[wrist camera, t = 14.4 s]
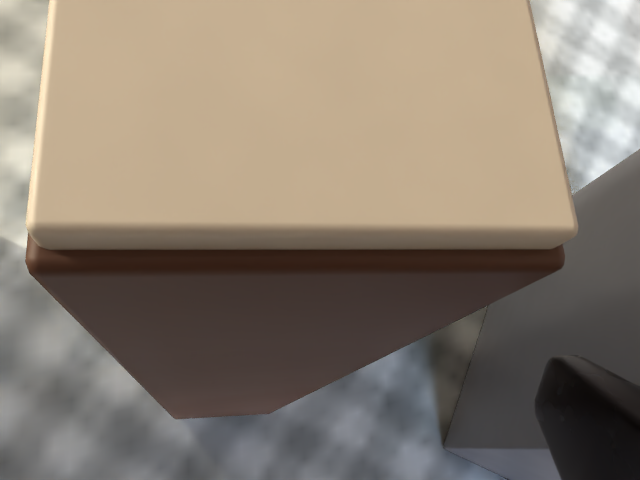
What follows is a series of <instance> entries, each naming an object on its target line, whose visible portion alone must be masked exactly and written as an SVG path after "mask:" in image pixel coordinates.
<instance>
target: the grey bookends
mask: <svg viewBox="0 0 640 480" xmlns="http://www.w3.org/2000/svg"><path fill="white" fill-rule="evenodd" d="M572 199H573V203H574V208H575V213H576V217H577V222H578V233H577V234H576V236H575V237H573V238H571V239H570V240H568V241H566V242H564V243H563V248H564V253H565V261H564V266H563V267H562V269H560V270H558V271H556V272H554V273H552V274H550V275H548V276H546V277H544V278H542V279H540V280H538V281H536V282H534V283H532V284H530V285H528V286H526V287H524V288H522V289H520V290H518V291H516V292H514V293H512V294H510V295H508V296H506V297H504V298H502V299H500V300H498V301H495V302H493V303H491V304H489V306H488V309H487V313H486V316H485V319H484V322H483V325H482V328H481V331H480V334H479V337H478V341H477V344H476V347H475V350H474V353H473V356H472V359H471V362H470V365H469V369H468V372H467V375H466V378H465V381H464V384H463V387H462V390H461V393H460V397H459V400H458V403H457V406H456V409H455V412H454V415H453V418H452V421H451V425H450V428H449V431H448V434H447V437H446V440H445V443H444V447H443V448H444V449H445V450H447V451H450V452H452V453H454V454H456V455H458V456H460V457H462V458H464V459H466V460H469V461H471V462H473V463H475V464H477V465H479V466H481V467H483V468H485V469H488V470H490V471H492V472H494V473H496V474H498V475H500V476H502V477H504V478H507V479H509V480H561V478H560V476H559V473H558V471H557V468H556V466H555V463H554V461H553V459H552V456H551V454H550V451H549V449H548V446H547V444H546V441H545V439H544V436H543V434H542V432H541V429H540V427H539V424H538V422H537V419H536V416H535V412H534V400H535V396H536V393H537V390H538V387H539V384H540V381H541V377H542V374H543V371H544V368H545V365H546V363H547V361H548V360H549V359H550V358H551V357H553V356H559V355H579V356H582V357H584V358H586V359H588V360H590V361H592V362H594V363H596V364H597V365H599V366H601V367H603V368H605V369H607V370H609V371H611V372H613V373H615V374H616V375H618V376H620V377H622V378H624V379H626V380H628V381H630V382H632V383H634V384H635V385H637V386H639V387H640V149H639V150H638V151H636V152H635V153H633V154H632V155H630V156H629V157H628V158H626V159H625V160H623V161H622V162H620V163H619V164H617V165H616V166H614V167H613V168H611V169H610V170H608V171H607V172H606V173H604V174H603V175H601V176H600V177H598V178H597V179H595V180H594V181H592V182H591V183H589V184H588V185H586V186H585V187H584V188H582V189H581V190H579V191H578V192H576V193H575V194H573V195H572Z"/></svg>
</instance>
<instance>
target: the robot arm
mask: <svg viewBox="0 0 640 480" xmlns="http://www.w3.org/2000/svg"><path fill="white" fill-rule="evenodd" d="M534 412H535V416H536V419H537V422H538V424H539V427H540V429H541V432H542V434H543V436H544V439H545V441H546V444H547V446H548V449H549V451H550V454H551V456H552V459H553V461H554V463H555V466H556V468H557V471H558V473H559V476H560V478H561V480H640V387H639V386H637V385H635V384H634V383H632V382H630V381H628V380H626V379H624V378H622V377H620V376H618V375H616V374H615V373H613V372H611V371H609V370H607V369H605V368H603V367H601V366H599V365H597V364H596V363H594V362H592V361H590V360H588V359H586V358H584V357H582V356H579V355H559V356H553V357H551V358H550V359H549V360H548V361H547V363H546V365H545V368H544V371H543V374H542V377H541V381H540V384H539V387H538V390H537V393H536V396H535V400H534Z"/></svg>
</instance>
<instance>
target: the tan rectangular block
mask: <svg viewBox="0 0 640 480" xmlns="http://www.w3.org/2000/svg"><path fill="white" fill-rule="evenodd" d="M26 227H27V230H28V240H27V250H26V260H25V262H26V265H27V267H28V270H29V273H30V274H31V275H32V276H33V277H34V278H35V279H36V280H37V281H38V282H39V283H40V284H41V285H42V286H43V287H44V288H45V289H46V290H47V291H48V292H49V293H50V294H51V295H52V296H53V297H54V298H55V299H56V300H57V301H58V302H59V303H60V304H61V305H62V306H63V307H64V308H65V309H66V310H67V311H68V312H69V313H70V314H71V315H72V316H73V317H74V318H75V319H76V320H77V321H78V322H79V323H80V324H81V325H82V326H83V327H84V328H85V329H86V330H87V331H88V332H89V333H90V334H91V335H92V336H93V337H94V338H95V339H96V340H97V341H98V342H99V343H100V344H101V345H102V346H103V347H104V348H105V349H106V350H107V351H108V352H109V353H110V354H111V355H112V356H113V357H114V358H115V359H116V360H117V361H118V362H119V363H120V364H121V365H122V366H123V367H124V368H125V370H126V371H127V372H128V373H129V374H130V375H131V376H132V377H133V378H134V379H135V380H136V381H137V382H138V383H139V384H140V385H141V386H142V387H143V388H144V389H145V390H146V391H147V392H148V393H149V394H150V395H151V396H152V397H153V398H154V399H155V400H156V401H157V402H158V403H159V404H160V405H161V406H162V407H163V408H164V409H165V410H166V411H167V412H168V413H169V414H170V415H171V416H172V417H173V418H175V419H186V418H204V417H222V416H240V415H258V414H269V413H271V412H273V411H275V410H277V409H279V408H281V407H283V406H285V405H287V404H289V403H291V402H293V401H295V400H298V399H300V398H302V397H304V396H306V395H308V394H310V393H312V392H314V391H316V390H318V389H320V388H322V387H324V386H326V385H328V384H330V383H332V382H334V381H336V380H338V379H340V378H342V377H344V376H346V375H348V374H350V373H352V372H354V371H356V370H358V369H360V368H362V367H364V366H366V365H368V364H370V363H372V362H374V361H376V360H378V359H380V358H382V357H384V356H386V355H388V354H390V353H392V352H394V351H397V350H399V349H401V348H403V347H405V346H407V345H409V344H411V343H413V342H415V341H417V340H419V339H421V338H423V337H425V336H427V335H429V334H431V333H433V332H435V331H437V330H439V329H441V328H443V327H445V326H447V325H449V324H451V323H453V322H455V321H457V320H459V319H461V318H463V317H465V316H467V315H469V314H471V313H473V312H475V311H477V310H479V309H481V308H483V307H485V306H487V305H489V304H491V303H493V302H495V301H498V300H500V299H502V298H504V297H506V296H508V295H510V294H512V293H514V292H516V291H518V290H520V289H522V288H524V287H526V286H528V285H530V284H532V283H534V282H536V281H538V280H540V279H542V278H544V277H546V276H548V275H550V274H552V273H554V272H556V271H558V270H560V269H562V267H563V266H564V261H565V253H564V248H563V243H564V242H566V241H568V240H570V239H571V238H573V237H575V236H576V234H577V233H578V222H577V217H576V213H575V208H574V203H573V199H572V194H571V190H570V185H569V180H568V176H567V171H566V167H565V162H564V157H563V153H562V148H561V144H560V139H559V134H558V130H557V125H556V121H555V116H554V111H553V107H552V102H551V98H550V93H549V88H548V84H547V79H546V75H545V70H544V65H543V61H542V56H541V52H540V47H539V42H538V38H537V33H536V29H535V24H534V19H533V15H532V10H531V6H530V1H529V0H50V1H49V10H48V20H47V29H46V38H45V48H44V57H43V67H42V76H41V85H40V95H39V104H38V113H37V123H36V132H35V142H34V151H33V160H32V170H31V179H30V188H29V198H28V207H27V217H26Z"/></svg>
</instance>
